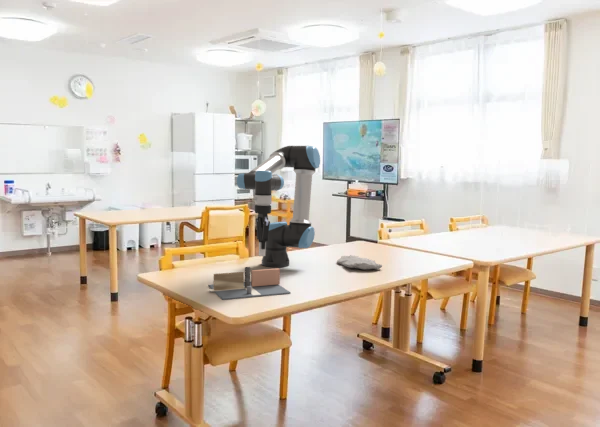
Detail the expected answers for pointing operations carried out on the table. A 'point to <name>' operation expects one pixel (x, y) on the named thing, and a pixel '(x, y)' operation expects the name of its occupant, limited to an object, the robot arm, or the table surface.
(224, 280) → the base
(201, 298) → the table surface
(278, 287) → the card
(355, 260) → the stone
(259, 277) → the hinged panel
